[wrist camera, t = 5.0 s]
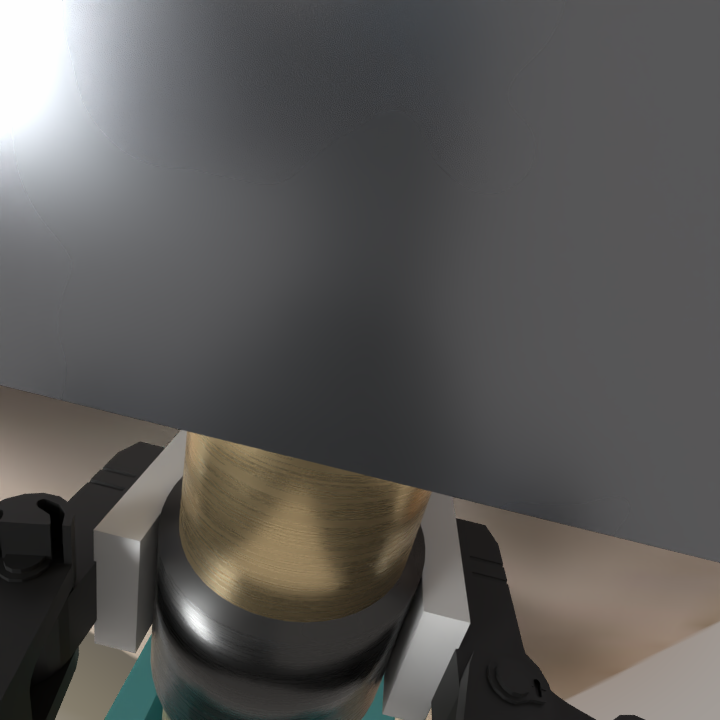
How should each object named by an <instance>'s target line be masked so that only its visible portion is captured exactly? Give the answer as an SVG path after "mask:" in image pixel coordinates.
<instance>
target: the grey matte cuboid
mask: <svg viewBox="0 0 720 720" xmlns="http://www.w3.org/2000/svg"><path fill="white" fill-rule="evenodd" d="M0 385H2V386H6V387H10V388H14V389H18V390H22V391H26V392H30V393H34V394H38V395H42V396H46V397H50V398H55V399H59V400H63V401H67V402H71V403H75V404H79V405H83V406H87V407H91V408H95V409H99V410H103V411H107V412H111V413H115V414H119V415H123V416H127V417H131V418H136V419H140V420H144V421H148V422H152V423H156V424H160V425H164V426H168V427H172V428H176V429H180V430H184V431H188V432H192V433H196V434H200V435H204V436H208V437H213V438H217V439H221V440H225V441H229V442H233V443H237V444H241V445H245V446H249V447H253V448H257V449H261V450H265V451H269V452H273V453H277V454H281V455H285V456H289V457H294V458H298V459H302V460H306V461H310V462H314V463H318V464H322V465H326V466H330V467H334V468H338V469H342V470H346V471H350V472H354V473H358V474H362V475H366V476H371V477H375V478H379V479H383V480H387V481H391V482H395V483H399V484H403V485H407V486H411V487H415V488H419V489H423V490H427V491H431V492H435V493H439V494H443V495H448V496H452V497H456V498H460V499H464V500H468V501H472V502H476V503H480V504H484V505H488V506H492V507H496V508H500V509H504V510H508V511H512V512H516V513H520V514H524V515H529V516H533V517H537V518H541V519H545V520H549V521H553V522H557V523H561V524H565V525H569V526H573V527H577V528H581V529H585V530H589V531H593V532H597V533H601V534H606V535H610V536H614V537H618V538H622V539H626V540H630V541H634V542H638V543H642V544H646V545H650V546H654V547H658V548H662V549H666V550H670V551H674V552H678V553H682V554H687V555H691V556H695V557H699V558H703V559H707V560H711V561H715V562H719V563H720V0H0Z"/></svg>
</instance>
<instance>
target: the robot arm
mask: <svg viewBox="0 0 720 720" xmlns="http://www.w3.org/2000/svg"><path fill="white" fill-rule="evenodd" d="M186 436H187V431H184V430H181V431H180V432H179V433H178V434H177V435H176V436H175V437H174V439H173V440H172V441H171V442H170V443H169V444H168V445H167V447H166V448H164V447H159V446H155V445H151V444H147V443H143V442H139V443H137V444H135V445H133V446H130V447H128V448H126V449H124V450H122V451H120V452H118V453H117V454H116V455H115V456H114V457H113V458H112V459H111V460H110V461H109V462H108V463H107V464H106V465H105V466H104V467H103V470H100V471H99V472H98V473H97V474H96V475H95V476H94V477H93V478H92V479H91V481H90V482H89V483H88V482H87V483H86V484H85V485H84V486H83V487H82V488H81V489H80V490H79V491H78V492H77V493H76V494H75V495H74V496H73V497H72V498H71V499H70V500H69V501H68V502H67V501H66V500H64V499H63V498H61V497H60V496H55V495H51V494H46V493H35V494H23V495H19V496H15V497H11V498H7V499H4V500H2V501H0V720H55V718H56V715H57V713H58V710H59V708H60V706H61V703H62V701H63V698H64V696H65V693H66V691H67V689H68V686H69V684H70V681H71V679H72V677H73V674H74V672H75V669H76V665H77V661H78V656H79V647H78V646H79V645H80V644H81V642H82V641H83V639H84V638H85V636H86V635H87V633H88V632H89V631H90V629H91V628H92V626H93V625H94V628H95V643H97V644H100V645H104V646H108V647H112V648H117V649H121V650H125V651H129V652H133V653H136V651H137V649H138V648H139V646H140V644H141V642H142V641H143V639H144V637H145V635H146V633H147V632H148V630H149V628H150V626H151V625H152V623H153V607H154V592H155V576H156V561H157V545H158V530H159V520H160V516H161V511H162V508H163V506H164V503H165V501H166V498H167V496H168V495H169V493H170V492H171V490H172V488H173V487H174V485H175V484H176V483H177V482H178V481H179V480H180V478H181V477H182V476H183V471H184V459H185V448H186ZM421 527H422V531H423V534H424V540H425V563H424V568H423V573H422V576H421V578H420V581H419V584H418V586H417V589H416V592H415V594H414V597H413V599H412V602H411V605H410V607H409V610H408V612H407V615H406V618H405V620H404V623H403V625H402V628H401V631H400V633H399V636H398V639H397V641H396V644H395V646H394V649H393V652H392V654H391V657H390V659H389V662H388V665H387V667H386V670H385V672H384V688H383V709H382V714H383V715H387V716H391V717H395V718H400V719H404V720H425V719H426V717H427V715H428V713H429V711H430V708H431V707H432V720H596V719H594V718H592V717H590V716H588V715H587V714H585V713H583V712H582V711H580V710H578V709H576V708H575V707H573V706H571V705H569V704H568V703H567V702H565V701H564V700H562V699H561V698H559V697H558V696H557V695H555V694H554V693H553V692H552V691H551V690H550V687H549V684H548V682H547V680H546V679H545V677H544V675H543V674H542V672H541V670H540V668H539V667H538V666H537V665H536V664H535V663H534V662H533V661H532V660H531V659H530V658H529V657H528V656H527V655H526V654H525V651H524V648H523V644H522V640H521V636H520V631H519V627H518V623H517V619H516V615H515V611H514V607H513V603H512V599H511V595H510V591H509V587H508V584H507V578H506V574H505V570H504V568H503V567H502V566H503V562H502V558H501V554H500V550H499V546H498V543H497V542H496V540H495V539H494V537H493V536H492V534H491V533H490V531H489V530H488V529H487V527H486V526H485V525H482V524H478V523H474V522H470V521H466V520H461V519H457V518H456V516H455V509H454V502H453V497H452V496H448V495H443V494H439V493H435V492H432V493H431V496H430V499H429V501H428V504H427V507H426V510H425V512H424V515H423V518H422V521H421ZM614 720H644V719H642V718H640V717H638V716H635V715H619V716H618V717H617V718H615V719H614Z"/></svg>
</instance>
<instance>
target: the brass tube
mask: <svg viewBox="0 0 720 720" xmlns="http://www.w3.org/2000/svg"><path fill="white" fill-rule="evenodd" d="M431 493H432V492H431V491H427V490H423V489H419V488H415V487H411V486H407V485H403V484H399V483H395V482H391V481H387V480H383V479H379V478H375V477H371V476H366V475H362V474H358V473H354V472H350V471H346V470H342V469H338V468H334V467H330V466H326V465H322V464H318V463H314V462H310V461H306V460H302V459H298V458H294V457H289V456H285V455H281V454H277V453H273V452H269V451H265V450H261V449H257V448H253V447H249V446H245V445H241V444H237V443H233V442H229V441H225V440H221V439H217V438H213V437H208V436H204V435H200V434H196V433H192V432H188V431H187V436H186V448H185V459H184V471H183V476H182V477H181V478H180V480H179V481H178V482H177V483H176V484H175V485H174V487H173V488H172V490H171V492H170V493H169V495H168V496H167V498H166V501H165V503H164V506H163V508H162V511H161V516H160V520H159V530H158V545H157V561H156V576H155V592H154V607H153V623H152V639H151V670H152V678H153V682H154V685H155V689H156V693H157V695H158V698H159V700H160V702H161V704H162V706H163V713H162V720H361V719H362V718H363V717H364V716H365V714H366V713H367V711H368V709H369V707H370V706H371V704H372V702H373V700H374V698H375V695H376V693H377V691H378V688H379V686H380V683H381V680H382V678H383V675H384V672H385V670H386V667H387V665H388V662H389V659H390V657H391V654H392V652H393V649H394V646H395V644H396V641H397V639H398V636H399V633H400V631H401V628H402V625H403V623H404V620H405V618H406V615H407V612H408V610H409V607H410V605H411V602H412V599H413V597H414V594H415V592H416V589H417V586H418V584H419V581H420V578H421V576H422V573H423V568H424V563H425V540H424V534H423V531H422V527H421V521H422V518H423V515H424V512H425V510H426V507H427V504H428V501H429V499H430V496H431Z"/></svg>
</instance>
